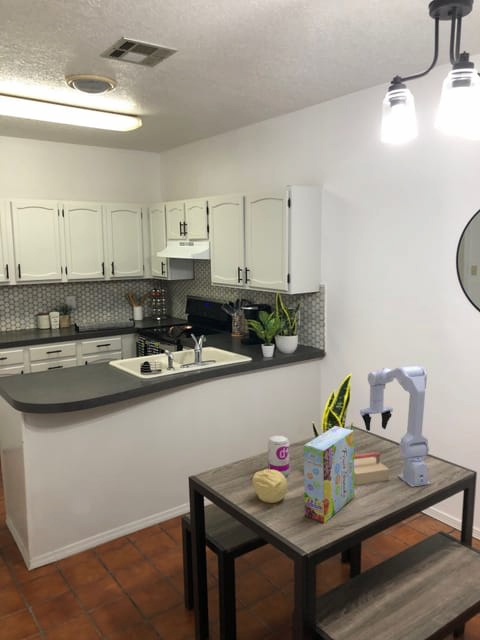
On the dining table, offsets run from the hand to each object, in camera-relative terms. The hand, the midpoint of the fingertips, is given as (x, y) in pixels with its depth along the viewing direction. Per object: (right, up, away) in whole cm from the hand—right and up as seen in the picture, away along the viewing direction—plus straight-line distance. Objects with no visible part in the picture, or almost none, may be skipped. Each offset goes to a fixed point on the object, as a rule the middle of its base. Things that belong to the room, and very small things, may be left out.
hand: (375, 429), depth 222 cm
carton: (-10, -14, -21) cm, 27 cm away
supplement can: (-44, -14, -19) cm, 50 cm away
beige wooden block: (-11, -9, -19) cm, 24 cm away
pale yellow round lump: (-48, -17, -37) cm, 63 cm away
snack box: (-28, -18, -44) cm, 55 cm away
